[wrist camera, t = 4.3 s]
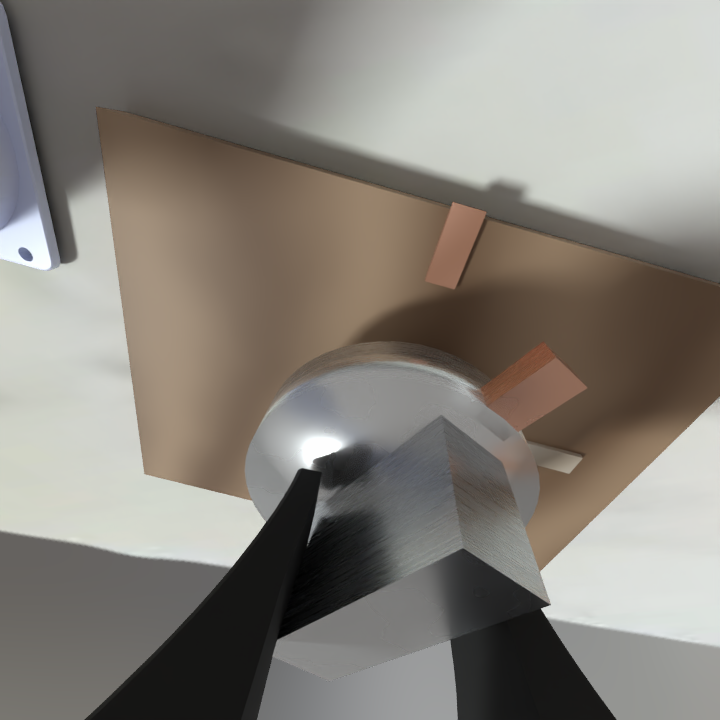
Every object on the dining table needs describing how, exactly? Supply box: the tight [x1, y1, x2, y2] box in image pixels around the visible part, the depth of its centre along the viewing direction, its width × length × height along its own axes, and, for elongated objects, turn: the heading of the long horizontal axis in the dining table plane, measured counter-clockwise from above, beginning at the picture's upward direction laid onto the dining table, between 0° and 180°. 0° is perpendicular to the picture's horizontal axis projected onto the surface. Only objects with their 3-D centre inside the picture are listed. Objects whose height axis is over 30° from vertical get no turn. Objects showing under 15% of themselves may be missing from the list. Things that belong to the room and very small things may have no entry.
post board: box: [96, 107, 720, 571], centre depth 14 cm, size 22×16×3 cm
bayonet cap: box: [245, 341, 588, 681], centre depth 10 cm, size 11×9×6 cm
